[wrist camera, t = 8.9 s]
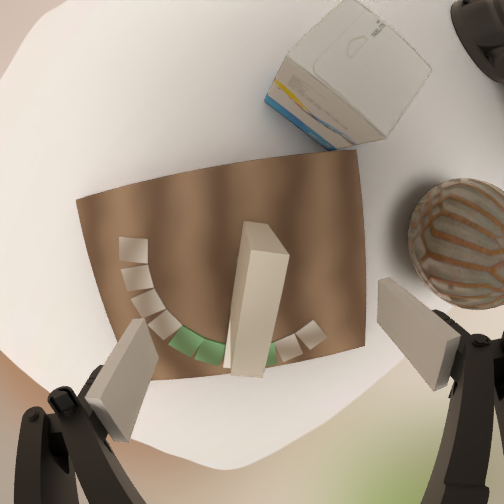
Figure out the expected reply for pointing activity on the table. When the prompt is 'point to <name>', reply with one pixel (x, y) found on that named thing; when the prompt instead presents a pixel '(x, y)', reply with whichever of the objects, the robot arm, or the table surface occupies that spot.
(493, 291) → the vase
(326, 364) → the table surface
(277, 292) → the cream dial pointer
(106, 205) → the board
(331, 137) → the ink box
